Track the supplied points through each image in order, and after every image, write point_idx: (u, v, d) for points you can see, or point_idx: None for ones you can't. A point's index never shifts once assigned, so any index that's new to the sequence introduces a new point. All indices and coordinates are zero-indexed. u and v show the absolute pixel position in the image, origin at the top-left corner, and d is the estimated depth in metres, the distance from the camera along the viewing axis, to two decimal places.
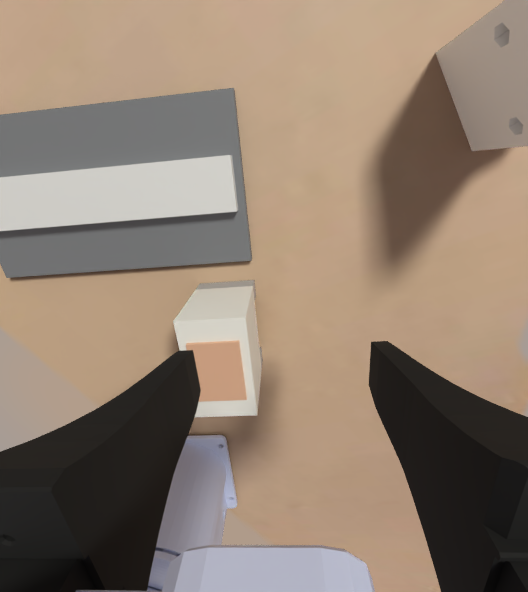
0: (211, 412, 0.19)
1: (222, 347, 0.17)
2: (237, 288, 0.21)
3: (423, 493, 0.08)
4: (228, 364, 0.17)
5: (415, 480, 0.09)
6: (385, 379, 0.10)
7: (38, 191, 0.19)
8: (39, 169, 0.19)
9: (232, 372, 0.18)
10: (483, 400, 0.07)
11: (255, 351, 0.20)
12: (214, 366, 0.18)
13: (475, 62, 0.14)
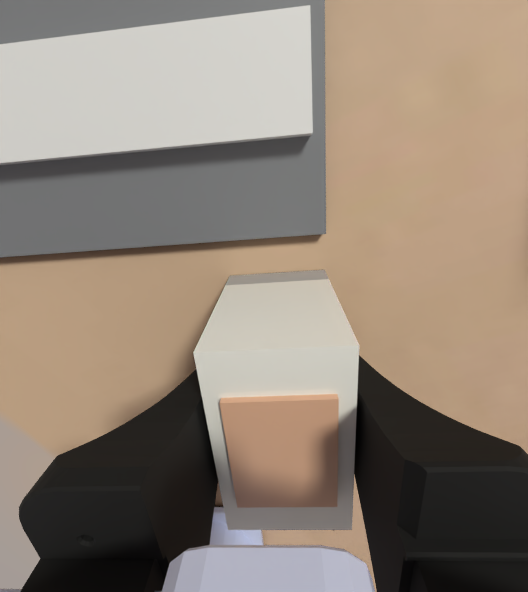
0: (261, 522, 0.10)
1: (300, 409, 0.08)
2: (302, 283, 0.11)
3: (364, 494, 0.08)
4: (309, 442, 0.08)
5: (360, 481, 0.09)
6: None
7: None
8: None
9: (314, 458, 0.08)
10: (417, 402, 0.07)
11: None
12: (279, 446, 0.08)
13: None
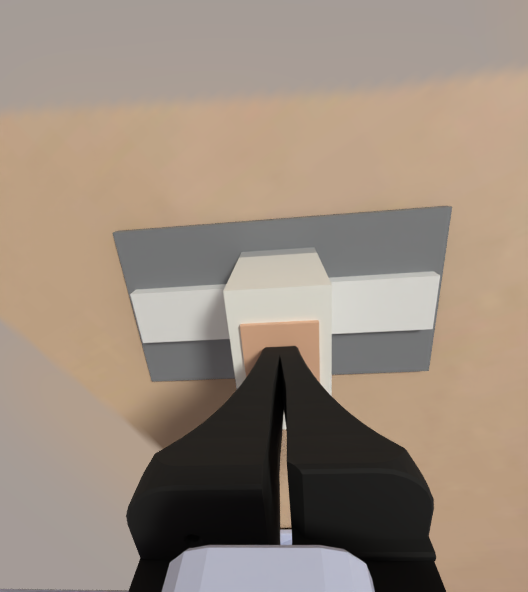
0: None
1: (293, 330, 0.12)
2: (296, 255, 0.15)
3: None
4: None
5: None
6: (282, 383, 0.11)
7: (214, 305, 0.17)
8: (213, 280, 0.18)
9: None
10: (336, 405, 0.08)
11: None
12: None
13: None
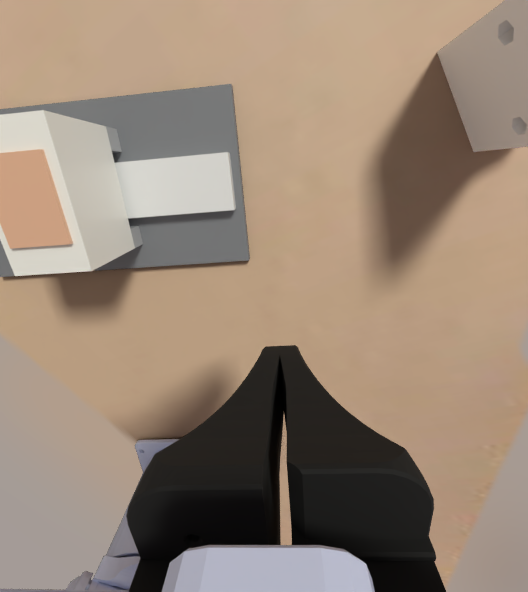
0: (34, 268, 0.15)
1: (21, 158, 0.13)
2: None
3: None
4: (35, 186, 0.13)
5: None
6: (282, 383, 0.11)
7: None
8: None
9: (42, 200, 0.13)
10: (336, 405, 0.08)
11: (100, 199, 0.16)
12: (18, 191, 0.13)
13: (478, 61, 0.14)
